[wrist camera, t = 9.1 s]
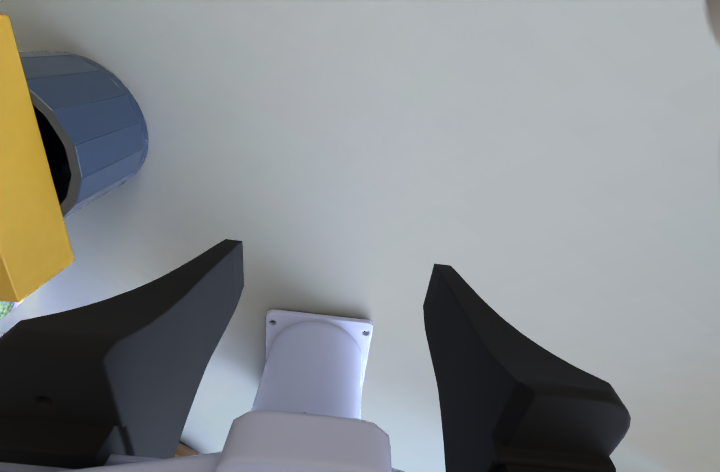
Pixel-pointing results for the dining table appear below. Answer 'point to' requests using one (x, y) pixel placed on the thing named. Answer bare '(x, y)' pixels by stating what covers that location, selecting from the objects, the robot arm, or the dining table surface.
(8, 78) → the yellow rectangular block
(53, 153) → the cup
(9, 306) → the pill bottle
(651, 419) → the dining table surface
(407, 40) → the dining table surface
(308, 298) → the dining table surface
